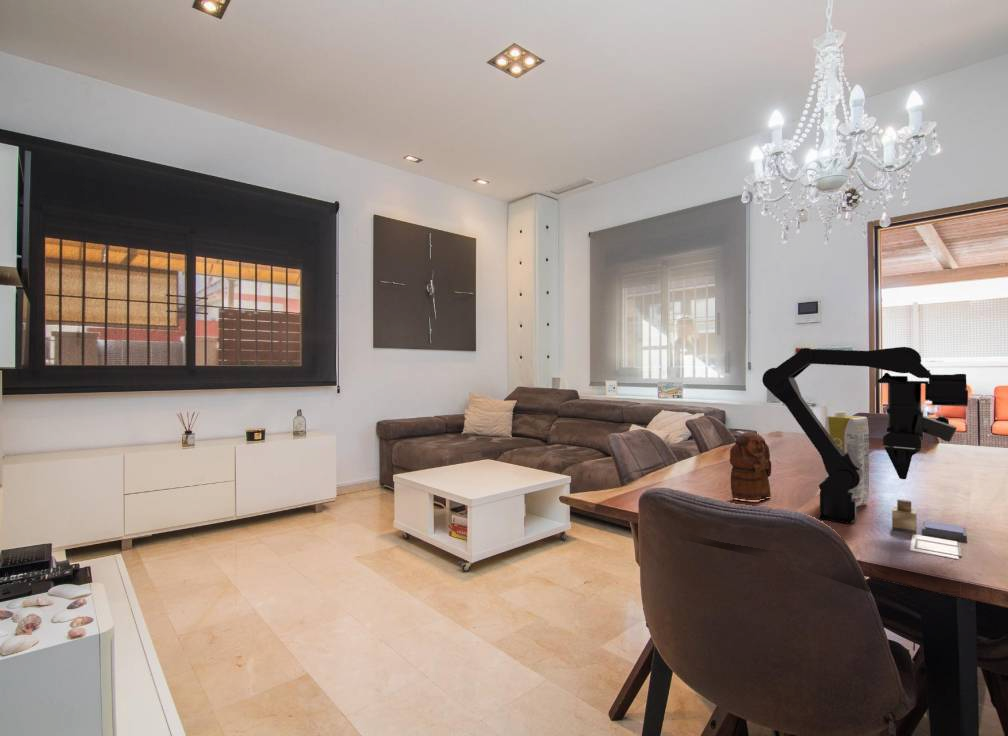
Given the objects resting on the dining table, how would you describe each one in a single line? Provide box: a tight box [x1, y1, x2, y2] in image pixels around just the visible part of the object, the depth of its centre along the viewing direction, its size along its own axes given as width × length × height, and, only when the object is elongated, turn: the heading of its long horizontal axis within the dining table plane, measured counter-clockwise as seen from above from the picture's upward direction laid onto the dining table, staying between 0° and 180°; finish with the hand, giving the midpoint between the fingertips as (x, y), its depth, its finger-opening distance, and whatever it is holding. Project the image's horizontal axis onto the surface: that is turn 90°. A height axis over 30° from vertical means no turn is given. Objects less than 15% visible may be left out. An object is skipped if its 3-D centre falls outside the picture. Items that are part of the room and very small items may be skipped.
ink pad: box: [921, 520, 968, 543], centre depth 107 cm, size 7×7×2 cm
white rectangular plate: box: [909, 534, 962, 560], centre depth 99 cm, size 7×12×1 cm, turn 139°
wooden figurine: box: [729, 431, 772, 500], centre depth 135 cm, size 12×6×18 cm, turn 119°
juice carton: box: [824, 411, 870, 508], centre depth 130 cm, size 9×8×24 cm
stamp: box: [891, 499, 918, 535], centre depth 109 cm, size 4×4×6 cm
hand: (903, 475), depth 109 cm, fingers open, 9 cm apart
